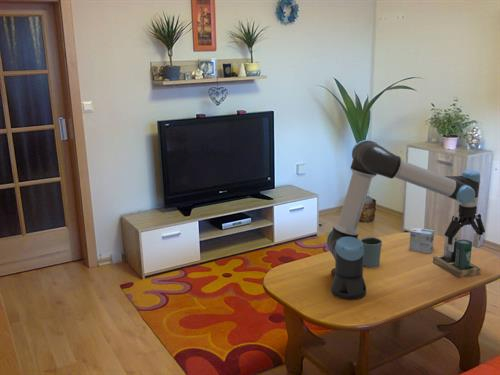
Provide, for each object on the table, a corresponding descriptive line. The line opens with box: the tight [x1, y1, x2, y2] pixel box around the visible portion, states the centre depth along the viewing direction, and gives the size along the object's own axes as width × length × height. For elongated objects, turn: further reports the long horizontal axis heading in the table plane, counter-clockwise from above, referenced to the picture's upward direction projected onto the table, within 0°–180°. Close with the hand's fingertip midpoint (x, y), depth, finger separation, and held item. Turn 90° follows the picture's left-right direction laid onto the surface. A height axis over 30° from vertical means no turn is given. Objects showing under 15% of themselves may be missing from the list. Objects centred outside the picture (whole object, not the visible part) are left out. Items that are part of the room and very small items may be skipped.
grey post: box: [443, 233, 460, 263], centre depth 244 cm, size 6×7×15 cm
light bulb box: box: [409, 226, 435, 254], centre depth 264 cm, size 11×7×11 cm, turn 58°
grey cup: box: [360, 236, 383, 268], centre depth 249 cm, size 10×10×12 cm
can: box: [455, 239, 473, 270], centre depth 236 cm, size 6×6×15 cm
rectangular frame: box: [432, 254, 482, 279], centre depth 242 cm, size 12×19×3 cm, turn 17°
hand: (463, 249), depth 235 cm, fingers open, 13 cm apart
